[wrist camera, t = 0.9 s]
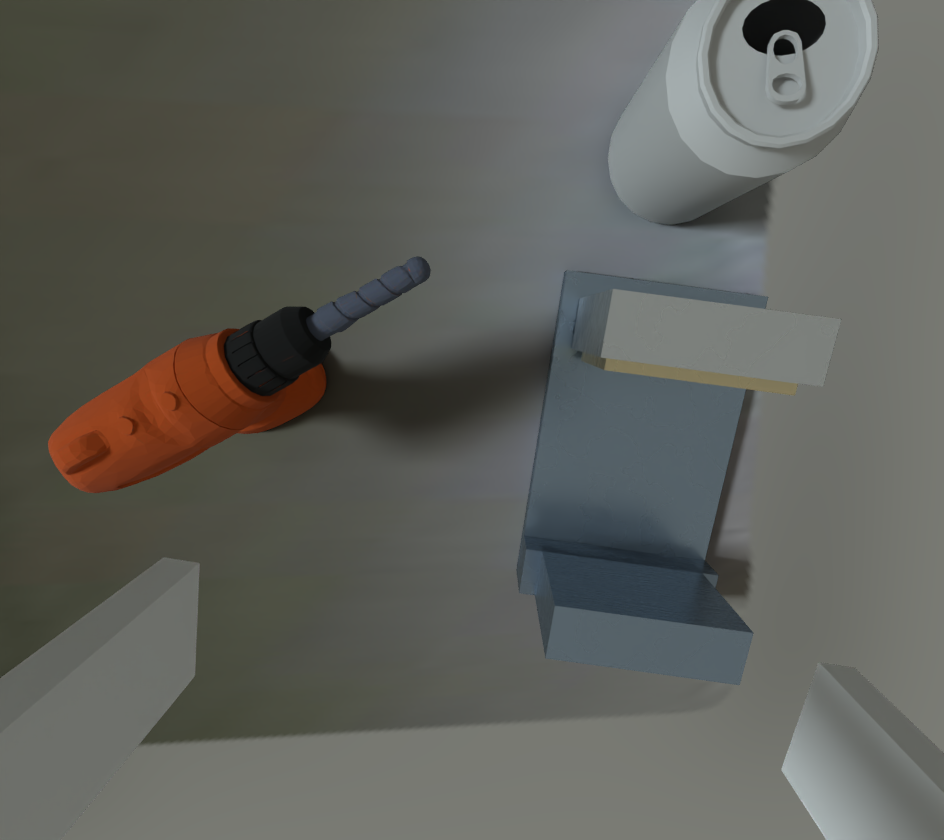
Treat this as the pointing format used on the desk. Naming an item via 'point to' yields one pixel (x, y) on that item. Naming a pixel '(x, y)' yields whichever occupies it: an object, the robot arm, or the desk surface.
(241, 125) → the desk surface
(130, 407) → the toy drill
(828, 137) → the can
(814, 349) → the block
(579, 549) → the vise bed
